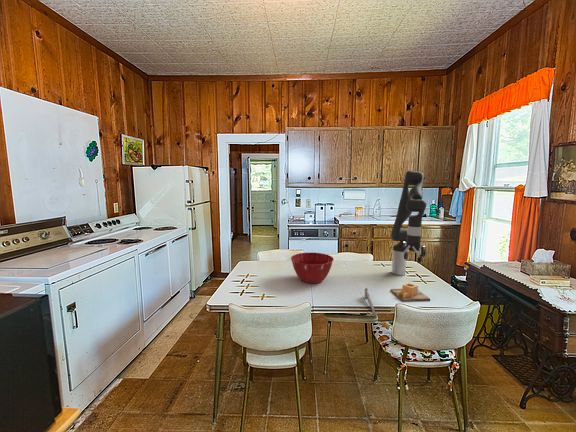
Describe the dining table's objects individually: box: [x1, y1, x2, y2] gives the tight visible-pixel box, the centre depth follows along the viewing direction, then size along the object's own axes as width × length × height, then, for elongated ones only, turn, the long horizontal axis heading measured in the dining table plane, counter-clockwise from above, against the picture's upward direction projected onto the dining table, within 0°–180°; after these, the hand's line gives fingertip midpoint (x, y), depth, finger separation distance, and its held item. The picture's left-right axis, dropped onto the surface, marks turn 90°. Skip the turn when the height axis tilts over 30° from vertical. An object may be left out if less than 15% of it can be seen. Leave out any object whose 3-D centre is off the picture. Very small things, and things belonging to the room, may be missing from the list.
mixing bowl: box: [290, 252, 335, 284], centre depth 200 cm, size 28×28×15 cm
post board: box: [390, 286, 431, 302], centre depth 174 cm, size 16×16×6 cm
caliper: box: [364, 287, 376, 313], centre depth 162 cm, size 20×1×6 cm, turn 178°
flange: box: [396, 282, 419, 298], centre depth 172 cm, size 12×6×5 cm, turn 125°
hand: (412, 261), depth 173 cm, fingers open, 8 cm apart
